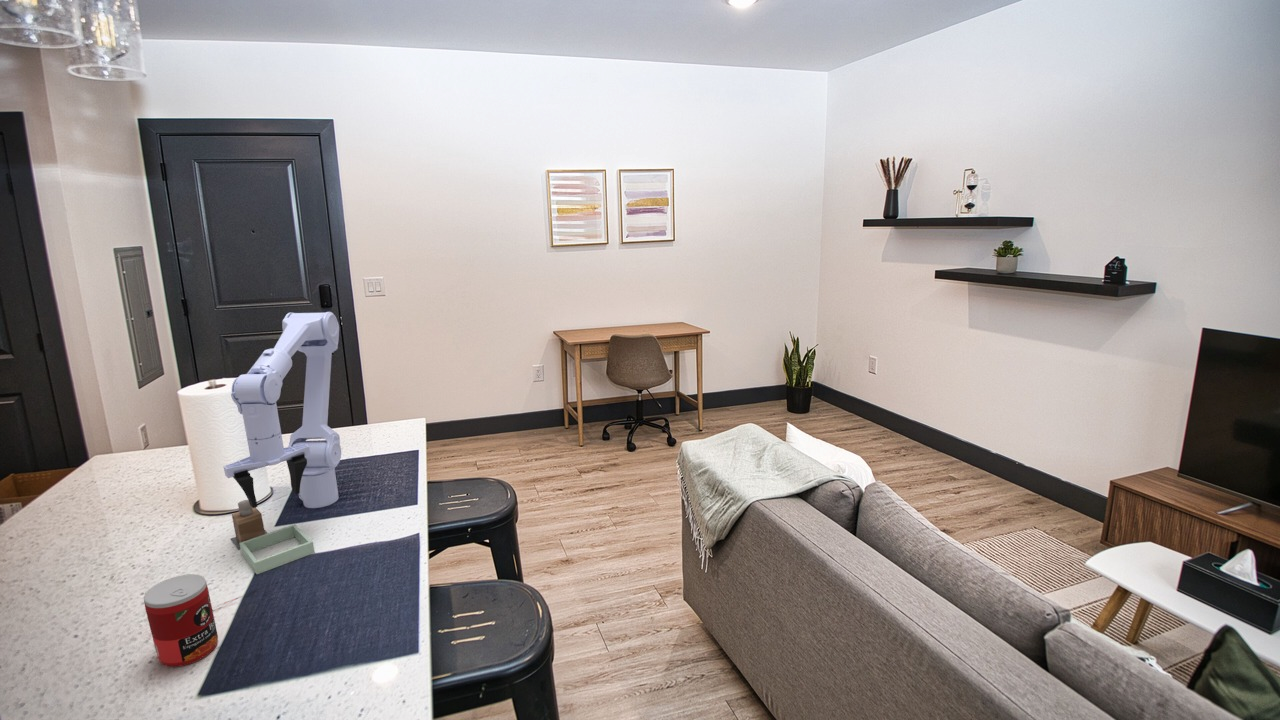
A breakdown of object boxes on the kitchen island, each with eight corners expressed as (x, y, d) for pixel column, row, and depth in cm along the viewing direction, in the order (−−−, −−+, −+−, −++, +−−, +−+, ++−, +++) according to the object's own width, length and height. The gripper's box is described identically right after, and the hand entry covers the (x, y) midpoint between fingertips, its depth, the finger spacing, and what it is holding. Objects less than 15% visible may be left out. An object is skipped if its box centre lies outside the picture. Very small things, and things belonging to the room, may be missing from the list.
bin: (242, 559, 122) (239, 543, 121) (297, 539, 129) (295, 523, 128) (257, 580, 115) (254, 563, 114) (315, 557, 122) (312, 541, 121)
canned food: (191, 671, 93) (176, 606, 90) (144, 665, 94) (128, 601, 91) (231, 636, 100) (219, 575, 97) (187, 631, 101) (174, 571, 99)
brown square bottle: (236, 538, 127) (229, 502, 125) (259, 530, 130) (253, 495, 128) (242, 546, 124) (235, 509, 122) (265, 538, 127) (259, 502, 125)
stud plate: (231, 544, 127) (226, 521, 126) (264, 532, 131) (260, 511, 130) (239, 555, 123) (234, 532, 122) (273, 543, 127) (269, 521, 126)
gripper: (226, 451, 112) (239, 519, 116) (311, 429, 123) (321, 492, 126) (215, 441, 117) (228, 507, 121) (298, 420, 127) (308, 482, 131)
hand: (275, 498), depth 124 cm, fingers open, 7 cm apart
